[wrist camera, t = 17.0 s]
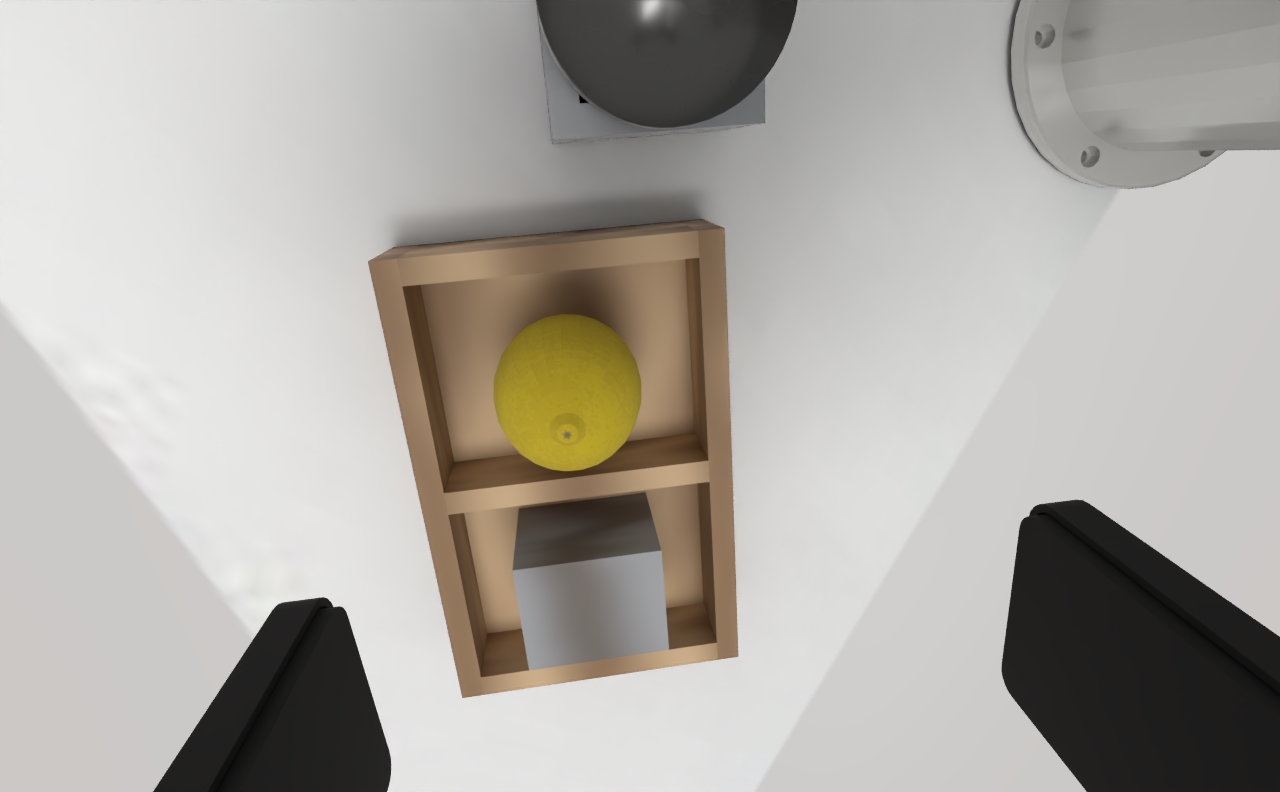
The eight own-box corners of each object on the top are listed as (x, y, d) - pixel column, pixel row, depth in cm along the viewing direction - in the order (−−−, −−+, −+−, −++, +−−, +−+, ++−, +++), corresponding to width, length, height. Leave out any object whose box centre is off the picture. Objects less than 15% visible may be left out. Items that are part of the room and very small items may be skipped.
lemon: (480, 329, 28) (446, 400, 21) (598, 271, 28) (607, 323, 20) (542, 434, 30) (532, 534, 23) (653, 382, 30) (680, 466, 22)
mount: (715, -70, 25) (762, -135, 19) (722, 129, 28) (765, 122, 22) (529, -60, 24) (522, -124, 19) (552, 143, 27) (551, 139, 21)
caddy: (702, 219, 29) (737, 234, 23) (719, 603, 36) (749, 687, 30) (393, 247, 28) (352, 270, 22) (472, 639, 34) (456, 732, 29)
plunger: (720, -77, 24) (800, -189, 16) (726, 129, 27) (799, 116, 19) (528, -66, 24) (515, -179, 16) (552, 143, 26) (551, 136, 18)
